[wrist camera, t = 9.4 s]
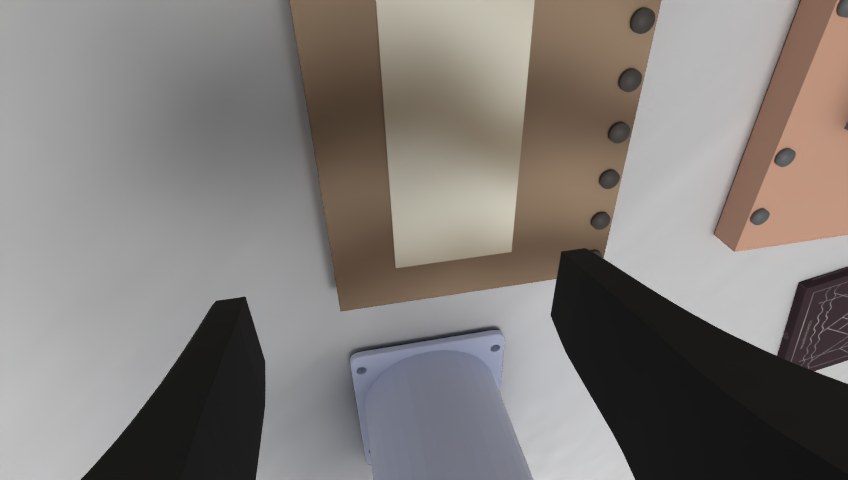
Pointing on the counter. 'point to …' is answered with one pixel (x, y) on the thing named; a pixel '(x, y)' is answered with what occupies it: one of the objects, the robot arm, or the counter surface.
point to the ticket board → (467, 136)
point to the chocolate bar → (818, 322)
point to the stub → (797, 141)
